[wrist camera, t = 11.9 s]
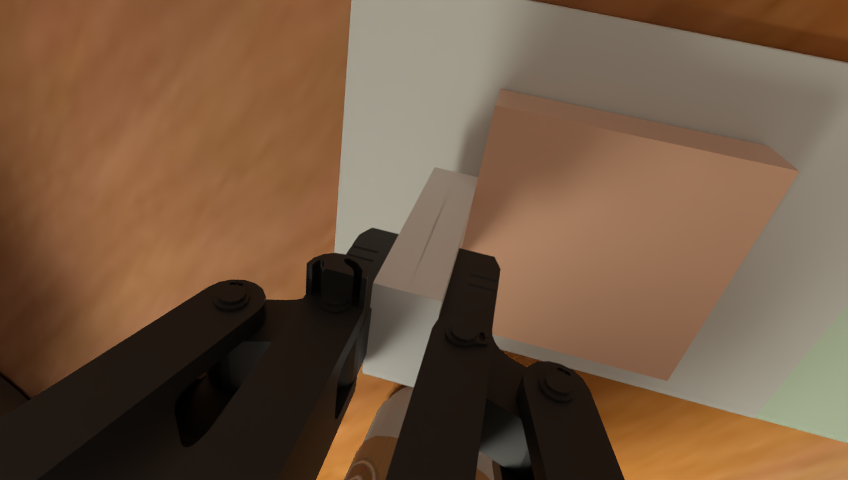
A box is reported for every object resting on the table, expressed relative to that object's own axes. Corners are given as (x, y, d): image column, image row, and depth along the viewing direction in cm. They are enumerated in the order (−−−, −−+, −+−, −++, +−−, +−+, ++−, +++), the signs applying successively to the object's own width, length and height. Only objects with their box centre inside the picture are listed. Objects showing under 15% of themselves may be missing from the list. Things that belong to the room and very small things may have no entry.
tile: (444, 321, 17) (667, 381, 16) (495, 105, 13) (800, 171, 12) (453, 288, 19) (655, 341, 18) (501, 88, 15) (767, 145, 14)
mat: (335, 296, 21) (330, 303, 21) (359, -34, 14) (354, -34, 14) (957, 464, 19) (967, 476, 18) (1352, 161, 12) (1382, 168, 11)
